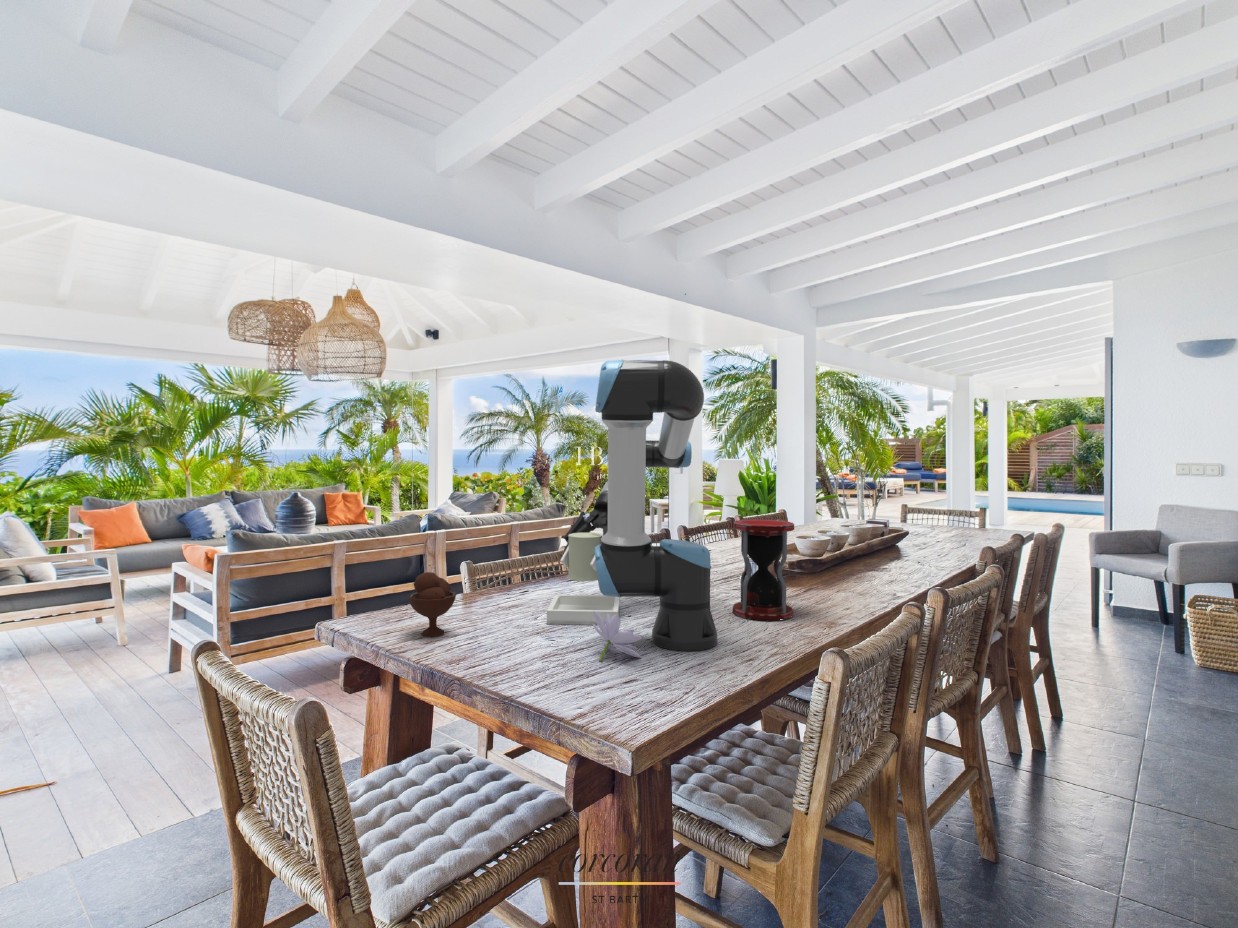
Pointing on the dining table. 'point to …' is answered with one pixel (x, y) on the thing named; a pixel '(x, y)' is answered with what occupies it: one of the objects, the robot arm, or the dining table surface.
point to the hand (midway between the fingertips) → (578, 565)
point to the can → (582, 556)
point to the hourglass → (763, 569)
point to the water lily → (615, 635)
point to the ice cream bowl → (431, 600)
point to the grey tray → (581, 609)
